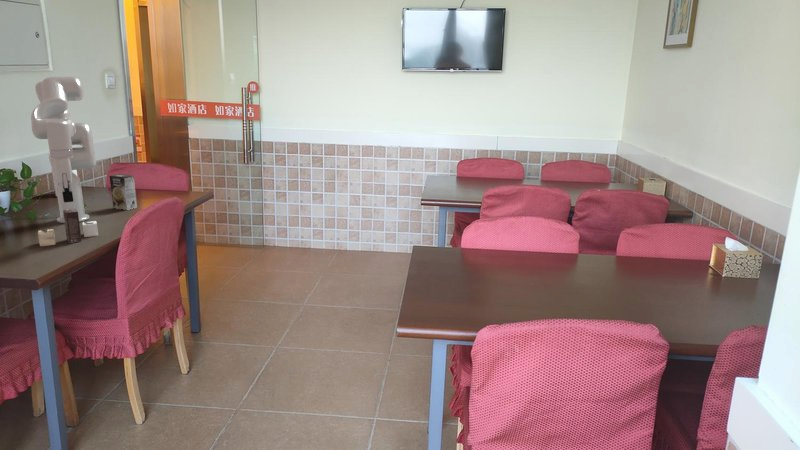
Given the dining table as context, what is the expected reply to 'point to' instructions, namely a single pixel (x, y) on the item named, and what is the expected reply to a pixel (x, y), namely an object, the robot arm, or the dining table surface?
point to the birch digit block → (46, 237)
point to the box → (72, 225)
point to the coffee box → (123, 191)
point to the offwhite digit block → (90, 229)
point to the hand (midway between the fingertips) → (68, 201)
